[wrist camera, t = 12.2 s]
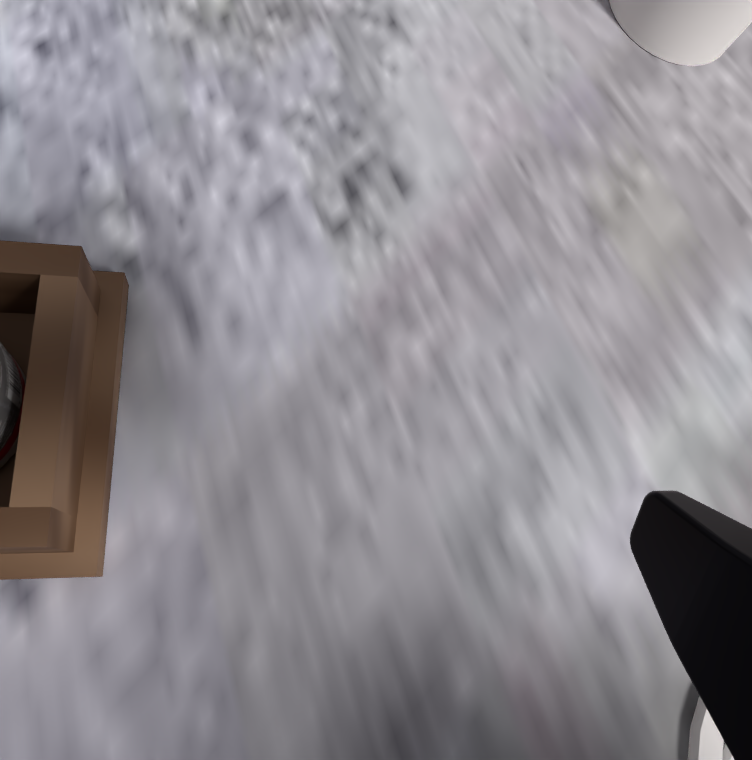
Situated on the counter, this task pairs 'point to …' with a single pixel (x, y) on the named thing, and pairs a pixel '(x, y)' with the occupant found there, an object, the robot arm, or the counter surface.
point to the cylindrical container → (683, 27)
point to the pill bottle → (10, 403)
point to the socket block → (60, 408)
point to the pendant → (706, 737)
